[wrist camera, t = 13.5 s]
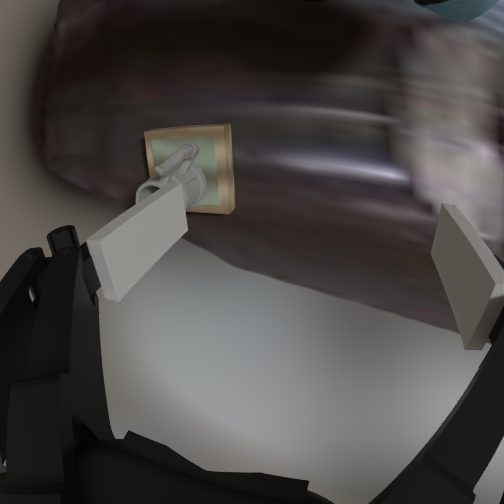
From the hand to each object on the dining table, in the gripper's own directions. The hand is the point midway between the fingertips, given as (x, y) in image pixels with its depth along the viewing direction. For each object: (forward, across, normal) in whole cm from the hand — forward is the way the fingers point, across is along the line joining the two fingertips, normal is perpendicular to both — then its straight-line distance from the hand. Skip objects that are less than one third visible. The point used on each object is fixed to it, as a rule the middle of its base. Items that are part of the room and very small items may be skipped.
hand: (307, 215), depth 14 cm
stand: (+32, -22, -6) cm, 39 cm away
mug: (+28, -21, -6) cm, 36 cm away
